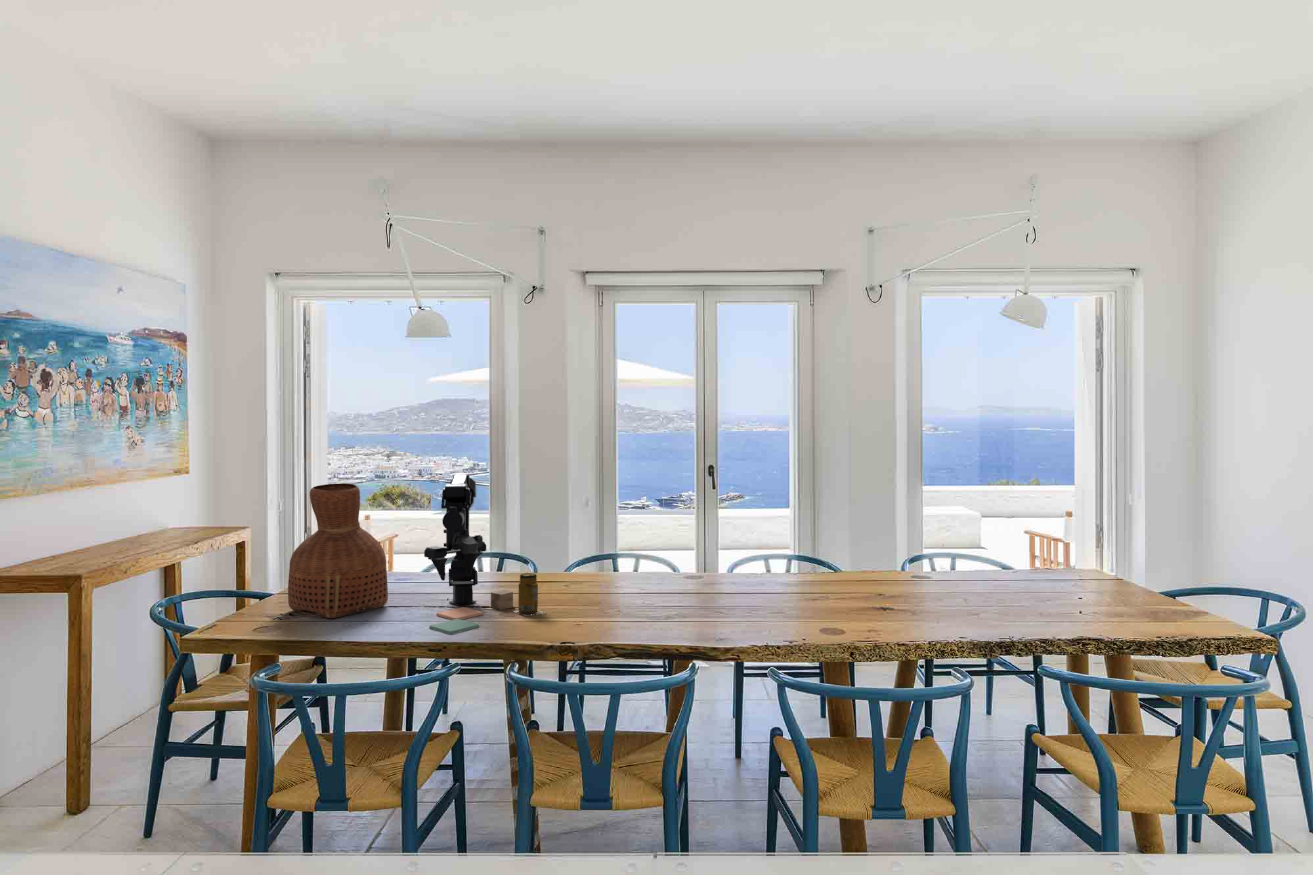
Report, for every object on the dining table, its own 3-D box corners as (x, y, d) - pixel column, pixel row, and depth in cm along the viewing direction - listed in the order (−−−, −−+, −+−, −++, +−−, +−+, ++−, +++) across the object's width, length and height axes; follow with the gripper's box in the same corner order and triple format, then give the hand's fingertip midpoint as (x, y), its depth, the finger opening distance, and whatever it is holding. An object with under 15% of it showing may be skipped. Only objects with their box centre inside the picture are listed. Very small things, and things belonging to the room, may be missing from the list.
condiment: (532, 608, 246) (532, 571, 246) (546, 613, 239) (546, 575, 239) (512, 611, 241) (512, 574, 241) (525, 617, 235) (525, 578, 235)
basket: (271, 613, 238) (270, 485, 238) (344, 595, 263) (343, 480, 262) (333, 624, 225) (332, 489, 225) (403, 605, 250) (403, 483, 249)
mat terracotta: (436, 615, 236) (436, 612, 236) (463, 609, 244) (463, 606, 244) (456, 620, 230) (456, 618, 230) (482, 614, 238) (482, 611, 238)
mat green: (429, 628, 221) (429, 625, 221) (458, 621, 229) (458, 618, 229) (450, 634, 215) (450, 631, 215) (479, 627, 223) (479, 624, 223)
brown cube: (490, 607, 247) (490, 592, 247) (503, 604, 251) (503, 589, 251) (500, 610, 244) (500, 594, 244) (513, 607, 248) (513, 591, 247)
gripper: (445, 532, 217) (445, 586, 217) (497, 525, 231) (497, 576, 232) (423, 528, 224) (423, 581, 224) (474, 522, 238) (475, 571, 239)
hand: (456, 577), depth 230 cm, fingers open, 9 cm apart
